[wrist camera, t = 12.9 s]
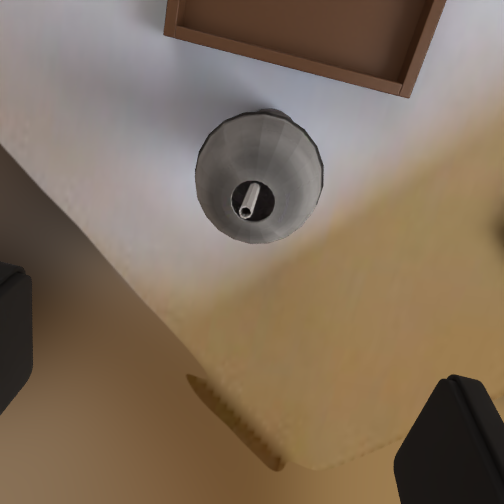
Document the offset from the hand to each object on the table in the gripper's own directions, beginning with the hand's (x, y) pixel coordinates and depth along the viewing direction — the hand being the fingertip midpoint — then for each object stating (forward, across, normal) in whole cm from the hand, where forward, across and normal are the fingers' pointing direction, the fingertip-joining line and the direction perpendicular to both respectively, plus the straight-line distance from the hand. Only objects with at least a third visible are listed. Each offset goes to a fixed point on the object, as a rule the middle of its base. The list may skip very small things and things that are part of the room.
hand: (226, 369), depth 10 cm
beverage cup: (+28, +1, 0) cm, 28 cm away
